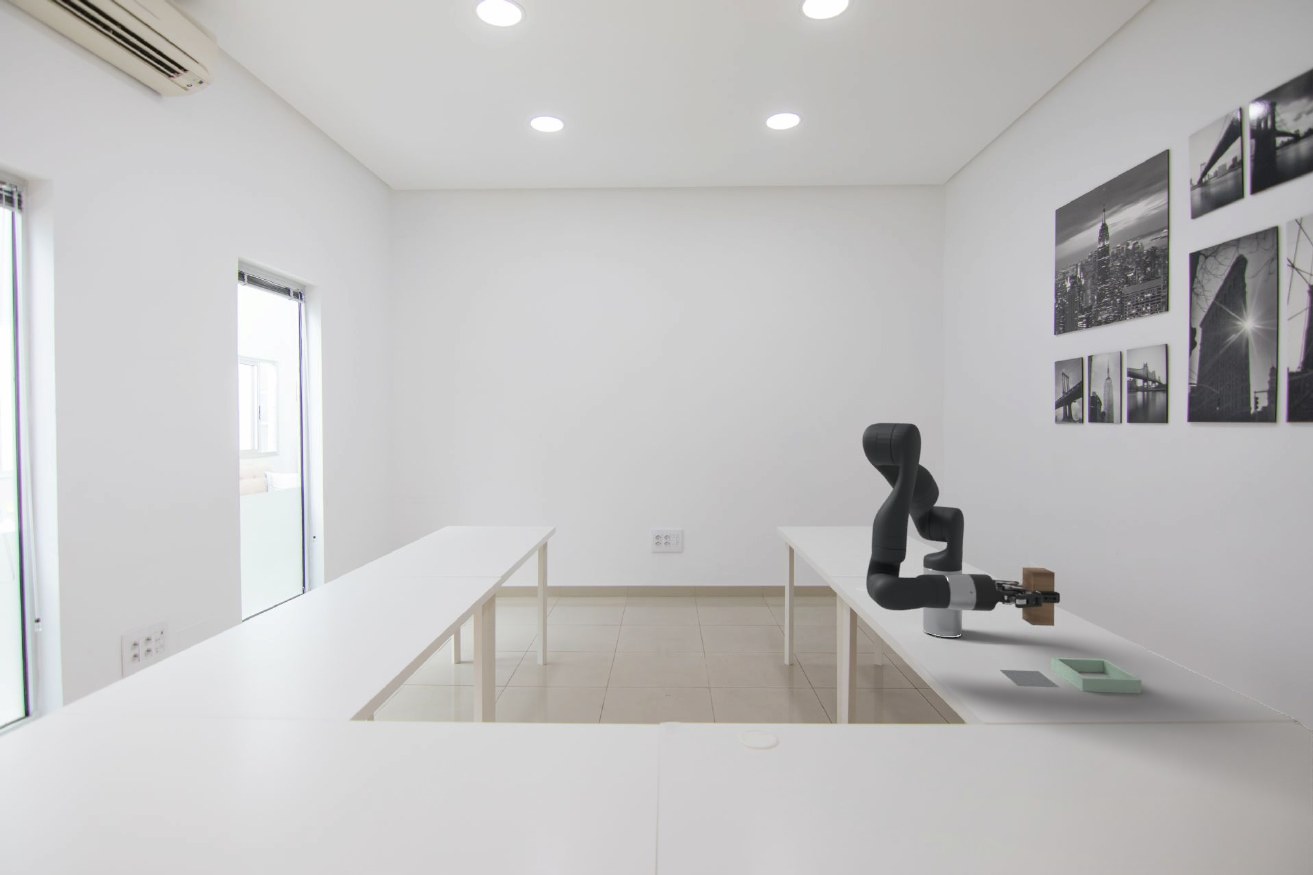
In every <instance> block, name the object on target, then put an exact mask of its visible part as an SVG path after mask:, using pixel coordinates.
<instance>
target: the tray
mask: <svg viewBox="0 0 1313 875" xmlns="http://www.w3.org/2000/svg"><path fill="white" fill-rule="evenodd" d="M1050 667H1051V670H1052V671H1053V672H1055V673H1056V674H1058V675H1059V676H1060V677H1062V678H1063V679H1065V680H1066V681H1067V682H1069V683H1070V684H1071V685H1073V686H1075V687H1076V688H1077V689H1079V690H1080V691H1082V692H1095V693H1098V692H1100V693H1103V692H1104V693H1121V694H1122V693H1128V694H1142V680H1141V679H1140V678H1138V677H1137V676H1135V675H1133V674H1131V673H1130V672H1128V671H1126V670H1124V669H1123V668H1121V667H1119V666H1118V665H1116V664H1115V663H1113V662H1110V661H1109V660H1107V659H1106V658H1082V657H1081V658H1079V657H1076V658H1075V657H1051V665H1050ZM1080 672H1084V673H1085V672H1087V673H1104V674H1106V675H1107V676H1109V677H1099V676H1098V677H1097V676H1095V677H1094V676H1084V675H1082V674H1080Z"/></svg>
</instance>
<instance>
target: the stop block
mask: <svg viewBox="0 0 1313 875" xmlns="http://www.w3.org/2000/svg"><path fill="white" fill-rule="evenodd" d="M1055 574H1056V573H1055V572H1054V571H1052V570H1049V569H1047V568H1044V567H1022V579H1021V580H1022V583H1021V584H1022V587H1025V588H1026V589H1027V590H1033V591H1052V592H1054V591H1055ZM1022 594H1023V591H1022ZM1033 600H1034V598H1033ZM1021 609H1022V610H1021V617H1022V618H1021V619H1022V621H1023V620H1024V621H1025V622H1027V623H1028V624H1030V625H1031V626H1045V627H1048V626H1050V627H1051V626H1052V627H1055V603H1042V607H1029V608H1021Z"/></svg>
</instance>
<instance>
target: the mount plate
mask: <svg viewBox="0 0 1313 875" xmlns="http://www.w3.org/2000/svg"><path fill="white" fill-rule="evenodd" d="M999 671H1000V672H1001V673H1002V674H1004V676H1006V677H1007V678H1008V679H1010V680H1011V681H1012V682H1013V683H1014V684H1015V685H1016V686H1018V687H1044V688H1060V686H1059V685H1057V684H1056V683H1055V682H1053V681H1052V680H1051V679H1049V678H1048V677H1047V676H1045V675H1044V674H1043V673H1041V671H1039V670H1018V669H1017V670H1016V669H1015V670H1014V669H1013V670H1012V669H1000V670H999Z"/></svg>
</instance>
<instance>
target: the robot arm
mask: <svg viewBox="0 0 1313 875" xmlns="http://www.w3.org/2000/svg"><path fill="white" fill-rule="evenodd" d="M862 434H863V435H862V438H861V440H862V448H863V452H864V454H865V456H866V459H867V461H868V462H869V464H870V465H872V466H873V467H874V469H876V470H877V471H878V473H880V474H881V476H883V478H885V480H886V482H887V483H888V484H889V486H891V488H892V491H891V492H890V493H889V495H888V496H887V498H886V500H885V501H884V502H883V503H882V505H881V506H880V508H879V509H877V510H878V511H877V512H876V515H875V516H874V520H873V522H872V523H873V524H872V530H871V531H872V535H871V555H870V559H869V564H868V568H867V572H866V583H865V584H866V591H867V594H868V596H869V597H870V598H871V600H873V601H874V603H876V605H878V606H879V607H881V608H882V609H885V610H887V611H909V610H918V609H923V610H922V612H923V613H922V614H923V615H922V616H923V617H922V620H923V621H922V622H923V623H922V628H923V629H924V630H925V631H926V632H929V633H931V634H936V635H940V636H957V635H960V634H962V635H963V611H976V612H977V611H978V612H983V611H984V612H991V611H993V610H995V608H996V605H997V604H998V603H1001V604H1002V605H1005V606H1012V605H1014V607H1015V608H1017V609H1022V608H1029V607H1042V603H1054V604H1059V603H1060V601H1061V594H1060V593H1059V592H1058V591H1055V590H1054V592H1052V591H1033V590H1027V589H1026V588H1025V587H1022V583H1020V582H1019V581H1014V580H1000V579H993V577H992V576H990V575H989V574H986V573H985V574H983V573H979V574H978V573H963V555H964V554H963V552H964V550H963V549H964V535H965V534H964V532H965V517H964V513H963V511H962V510H961V509H960V508H959V507H953V506H952V507H951V506H940V505H936V503H937V502H938V499H939V496H940V490H939V486H938V484H937V482H936V480H935V478H934V476H933V475H932V473H931V472H930V471H929V470H928V469H927V468H926V467H925V466H923V465H922V464H920V458H921V454H922V453H921V450H922V436H921V432H920V429H919V428H918V426H917V425H916V424H914V423H909V422H908V423H907V422H905V423H904V422H903V423H901V422H877V423H873V424H870V425H869V426H867V427H866V429H865V430H864V432H863V433H862ZM909 518H911V520H912V522H913V525H914V527H915V529H916V531H917V533H918V535H919V537H921V538H922V539H923V540H927V541H930V542H932V541H933V542H939V543H946V547H945V548H944V549H942V550H940V551H937V552H936V551H935V552H931V553H927V554H925V555H924V556H923V559H922V560H923V562H922V563H923V565H922V566H923V568H922V570H923V573H922V574H919V575H917V576H915V577H902V576H901V577H900V572H901V563H903V562H904V561H905V559H906V556H907V555H906V554H907V547H908V546H907V544H908V543H907V542H908V528H909ZM1022 591H1023V594H1022ZM1033 598H1034V600H1033Z"/></svg>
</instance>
